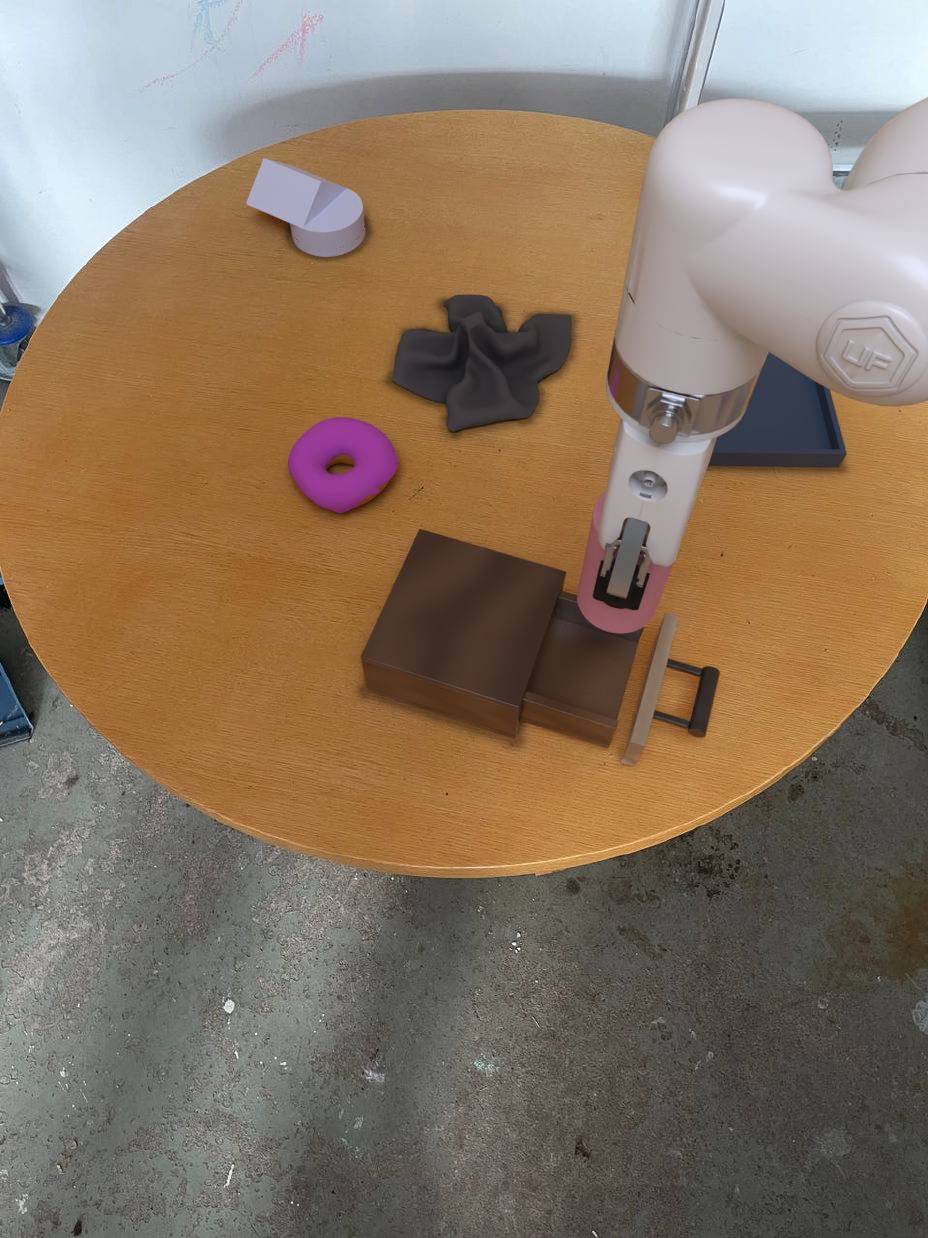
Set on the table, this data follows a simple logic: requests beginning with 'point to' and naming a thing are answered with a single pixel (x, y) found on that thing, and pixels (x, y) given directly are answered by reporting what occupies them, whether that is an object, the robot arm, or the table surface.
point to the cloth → (482, 361)
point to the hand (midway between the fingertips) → (627, 561)
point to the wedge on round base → (310, 208)
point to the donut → (342, 445)
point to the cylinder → (598, 610)
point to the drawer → (606, 681)
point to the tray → (783, 424)
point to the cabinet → (462, 631)
